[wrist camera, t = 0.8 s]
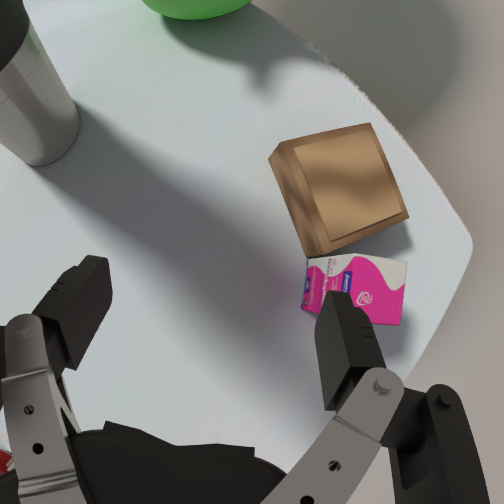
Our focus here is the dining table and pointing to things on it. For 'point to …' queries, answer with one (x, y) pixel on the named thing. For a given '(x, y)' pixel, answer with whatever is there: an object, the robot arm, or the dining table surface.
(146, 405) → the dining table surface
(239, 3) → the toy bird
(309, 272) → the supplement box
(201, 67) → the dining table surface
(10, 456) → the soda can
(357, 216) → the walnut plinth
